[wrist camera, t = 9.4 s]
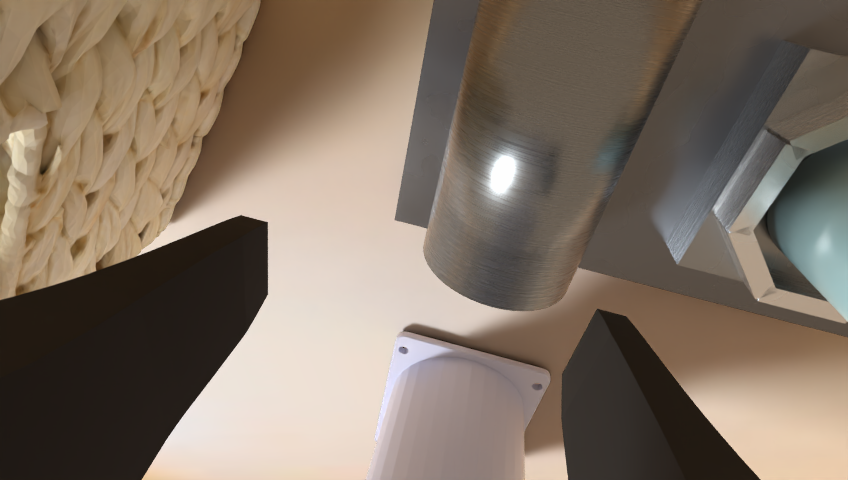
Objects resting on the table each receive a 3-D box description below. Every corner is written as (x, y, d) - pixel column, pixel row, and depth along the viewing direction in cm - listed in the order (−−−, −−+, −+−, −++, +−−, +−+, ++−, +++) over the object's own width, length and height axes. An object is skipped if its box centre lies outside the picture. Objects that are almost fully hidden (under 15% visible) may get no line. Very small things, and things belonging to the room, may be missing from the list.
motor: (825, 311, 19) (952, 457, 13) (402, 203, 20) (357, 297, 14) (1100, 10, 12) (1548, 49, 7) (464, -129, 13) (426, -189, 8)
